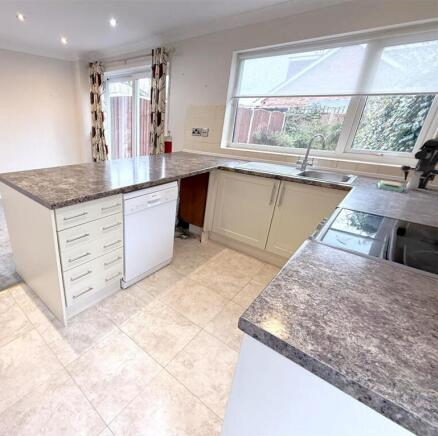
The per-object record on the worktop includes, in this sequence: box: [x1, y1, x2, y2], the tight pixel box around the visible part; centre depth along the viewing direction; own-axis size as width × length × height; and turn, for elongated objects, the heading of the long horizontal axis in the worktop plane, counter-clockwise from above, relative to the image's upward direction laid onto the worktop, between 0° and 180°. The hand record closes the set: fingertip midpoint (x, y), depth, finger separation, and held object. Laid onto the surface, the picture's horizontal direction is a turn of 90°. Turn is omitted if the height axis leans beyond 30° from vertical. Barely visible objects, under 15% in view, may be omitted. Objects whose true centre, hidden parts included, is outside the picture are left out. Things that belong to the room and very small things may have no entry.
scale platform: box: [380, 179, 403, 187], centre depth 173 cm, size 11×10×1 cm
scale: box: [377, 180, 404, 193], centre depth 172 cm, size 14×12×3 cm
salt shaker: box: [405, 171, 423, 191], centre depth 170 cm, size 6×6×13 cm
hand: (413, 182), depth 171 cm, fingers open, 9 cm apart
